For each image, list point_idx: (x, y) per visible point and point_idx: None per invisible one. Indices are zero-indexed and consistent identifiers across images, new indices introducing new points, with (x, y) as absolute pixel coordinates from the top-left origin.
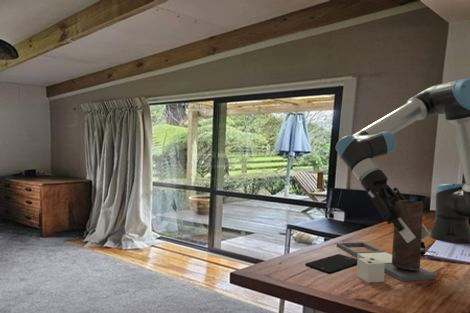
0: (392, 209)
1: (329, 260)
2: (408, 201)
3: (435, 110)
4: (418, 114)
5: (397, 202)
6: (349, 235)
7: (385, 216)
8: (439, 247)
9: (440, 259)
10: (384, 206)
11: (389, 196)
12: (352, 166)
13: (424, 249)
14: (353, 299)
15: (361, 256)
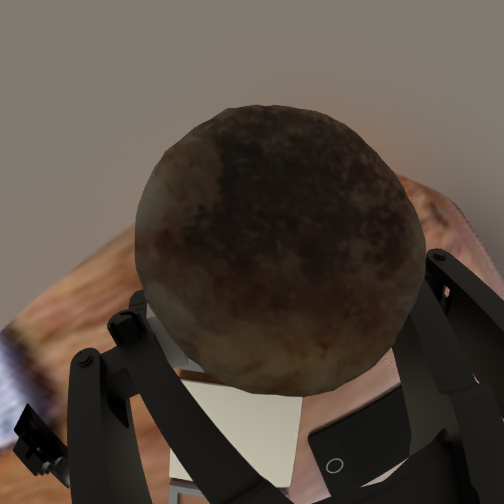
0: (421, 298)
1: (402, 441)
2: (238, 296)
3: None
4: None
5: (387, 324)
6: None
7: (444, 290)
8: None
9: (32, 377)
10: (489, 289)
11: (406, 475)
12: None
13: (31, 431)
14: (450, 225)
15: (292, 464)
